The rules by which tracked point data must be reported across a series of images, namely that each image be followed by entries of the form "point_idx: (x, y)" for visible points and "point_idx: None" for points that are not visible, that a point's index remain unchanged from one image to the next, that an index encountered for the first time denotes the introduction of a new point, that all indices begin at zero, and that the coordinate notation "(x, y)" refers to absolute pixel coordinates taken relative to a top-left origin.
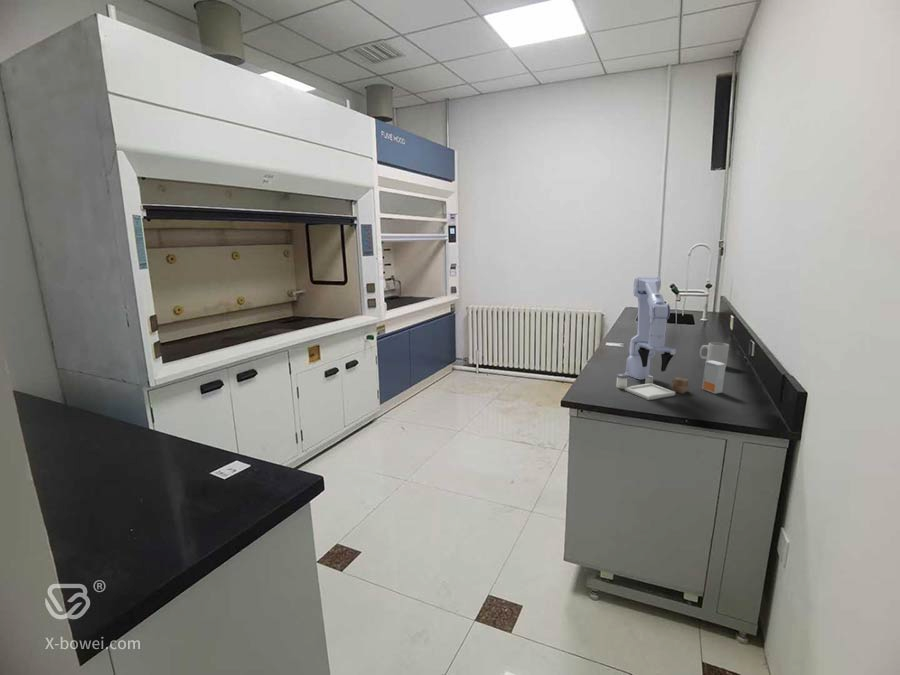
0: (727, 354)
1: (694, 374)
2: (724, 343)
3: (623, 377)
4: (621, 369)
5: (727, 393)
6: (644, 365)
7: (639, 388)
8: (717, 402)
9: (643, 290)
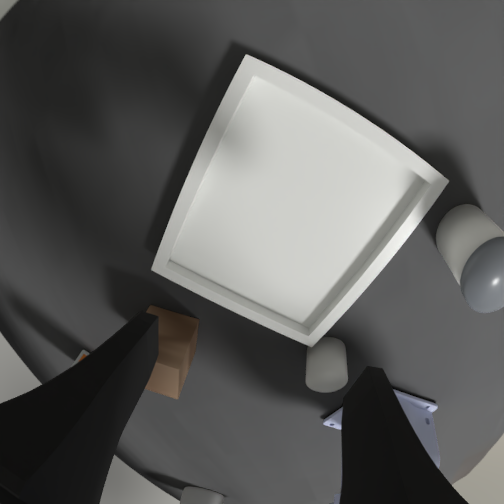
0: None
1: (216, 463)
2: None
3: (491, 244)
4: (438, 431)
5: (70, 363)
6: (366, 386)
7: (361, 245)
8: (30, 263)
9: None
